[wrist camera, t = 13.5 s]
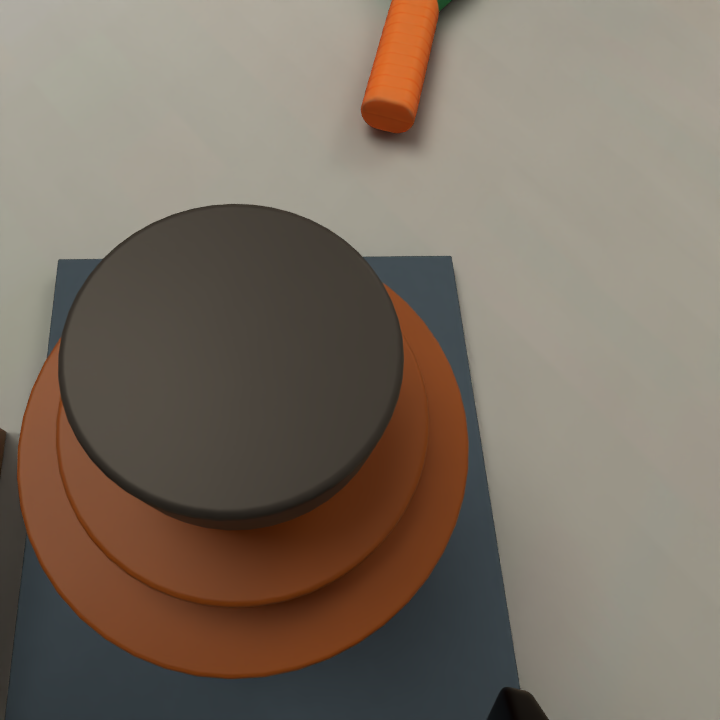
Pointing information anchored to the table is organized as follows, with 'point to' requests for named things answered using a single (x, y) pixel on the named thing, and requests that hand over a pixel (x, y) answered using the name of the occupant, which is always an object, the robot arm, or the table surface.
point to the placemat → (327, 678)
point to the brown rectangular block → (2, 446)
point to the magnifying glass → (401, 64)
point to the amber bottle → (240, 446)
